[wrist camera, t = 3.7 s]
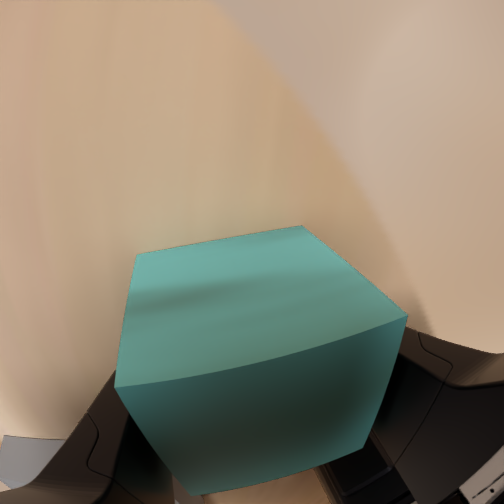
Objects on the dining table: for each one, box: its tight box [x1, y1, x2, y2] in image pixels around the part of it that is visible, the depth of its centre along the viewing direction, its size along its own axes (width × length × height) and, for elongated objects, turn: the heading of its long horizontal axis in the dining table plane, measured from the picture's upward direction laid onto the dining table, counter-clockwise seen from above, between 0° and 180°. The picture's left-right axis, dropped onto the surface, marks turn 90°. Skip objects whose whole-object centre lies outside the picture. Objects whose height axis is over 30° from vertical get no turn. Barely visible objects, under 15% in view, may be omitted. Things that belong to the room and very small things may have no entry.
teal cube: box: [114, 226, 408, 496], centre depth 8 cm, size 5×5×5 cm
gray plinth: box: [0, 435, 205, 504], centre depth 11 cm, size 10×10×3 cm
